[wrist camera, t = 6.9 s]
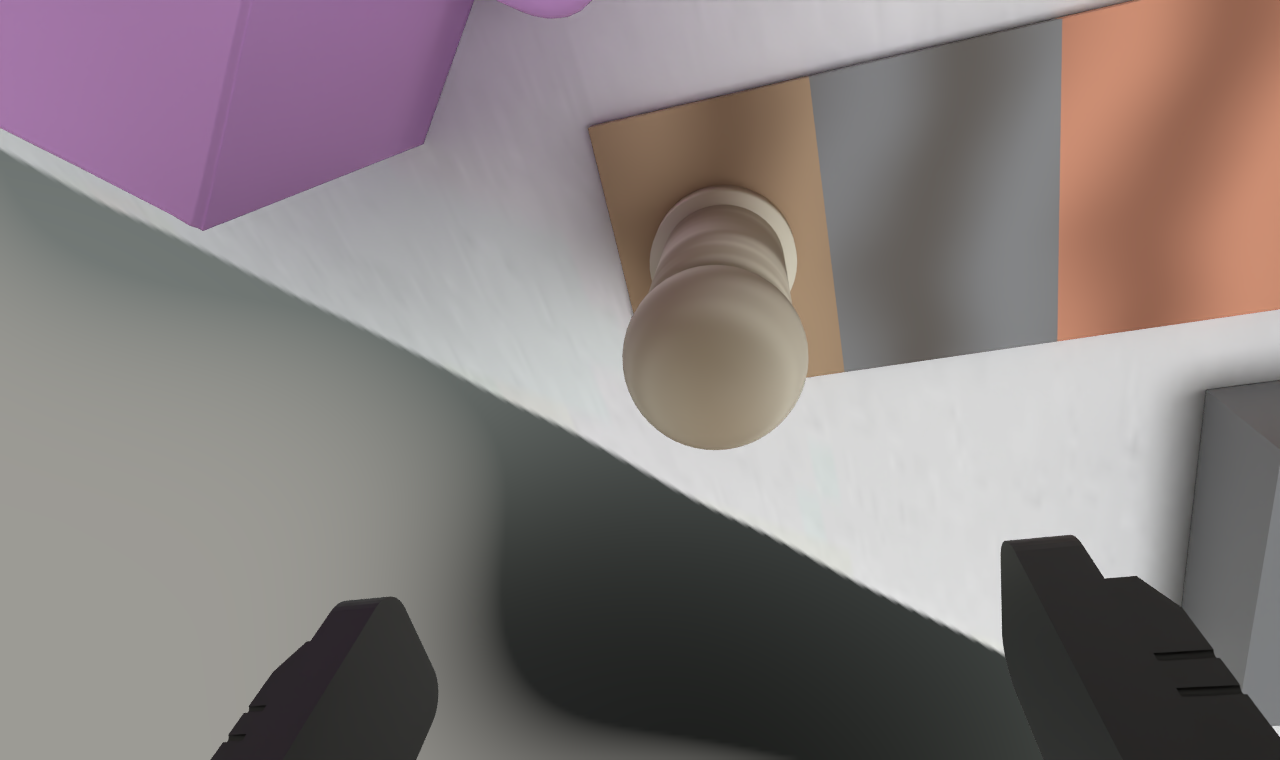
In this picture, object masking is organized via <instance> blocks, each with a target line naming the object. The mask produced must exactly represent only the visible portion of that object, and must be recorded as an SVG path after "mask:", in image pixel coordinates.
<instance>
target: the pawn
mask: <svg viewBox="0 0 1280 760" xmlns="http://www.w3.org/2000/svg"><path fill="white" fill-rule="evenodd" d="M796 271H797V253H796V248H795V243H794V239H793V234H792V231H791V229H790V226H789V224H788V222H787V220H786V218H785V217H784V215H783V214H782V213H781V211H780V210H779V209H778V208H777V207H776V206H775V205H774V204H773V203H772V202H771V201H769V200H768V199H767V198H766V197H764V196H762V195H761V194H759V193H757V192H755V191H752V190H750V189H747V188H743V187H739V186H732V185H718V186H710V187H707V188H703V189H700V190H698V191H695V192H693V193H691V194H689V195H687V196H686V197H684V198H683V199H681V200H680V201H679V202H678V203H676V204H675V205H674V206H673V207H672V208H671V209H670V210H669V212H668V213H667V214H666V216H665V217H664V219H663V220H662V222H661V224H660V226H659V228H658V231H657V233H656V236H655V238H654V241H653V244H652V248H651V253H650V273H651V279H652V284H651V287H650V289H649V292H648V294H647V295H646V297H645V298H644V299H643V300H642V302H641V303H640V304H639V306H638V308H637V309H636V311H635V313H634V314H633V316H632V318H631V320H630V323H629V325H628V328H627V331H626V335H625V339H624V344H623V354H622V357H623V371H624V376H625V381H626V384H627V387H628V390H629V393H630V395H631V397H632V399H633V401H634V403H635V405H636V406H637V408H638V409H639V411H640V412H641V414H642V415H643V416H644V417H645V418H646V420H647V421H648V422H649V423H650V424H651V425H653V426H654V427H655V428H656V429H657V430H658V431H660V432H661V433H662V434H664V435H665V436H667V437H669V438H670V439H672V440H674V441H676V442H679V443H681V444H684V445H687V446H690V447H694V448H699V449H706V450H724V449H731V448H737V447H740V446H744V445H747V444H749V443H752V442H754V441H756V440H758V439H760V438H761V437H763V436H765V435H766V434H768V433H770V432H771V431H772V430H773V429H775V428H776V427H777V426H778V425H779V424H780V423H781V422H782V421H783V420H784V419H785V418H786V417H787V416H788V414H789V413H790V412H791V410H792V409H793V407H794V406H795V404H796V402H797V401H798V399H799V397H800V395H801V392H802V389H803V387H804V384H805V380H806V376H807V371H808V343H807V339H806V334H805V331H804V328H803V325H802V323H801V320H800V317H799V316H798V314H797V312H796V310H795V308H794V307H793V305H792V300H791V294H790V291H791V289H792V286H793V283H794V280H795V276H796Z"/></svg>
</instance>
